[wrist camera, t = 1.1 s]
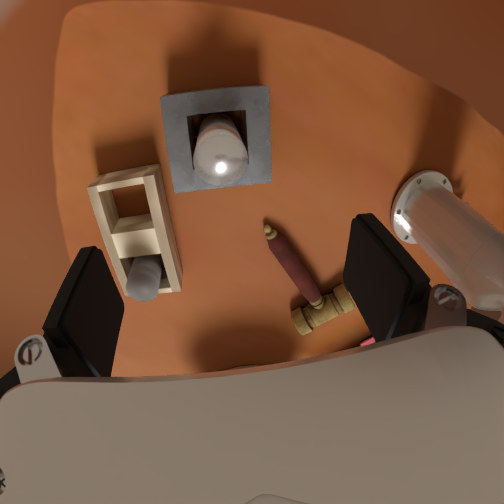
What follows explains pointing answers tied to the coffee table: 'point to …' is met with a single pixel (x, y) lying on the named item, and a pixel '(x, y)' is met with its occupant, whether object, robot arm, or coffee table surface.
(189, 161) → the socket
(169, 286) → the rack
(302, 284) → the gavel
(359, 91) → the coffee table surface
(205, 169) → the silver metal cylinder
